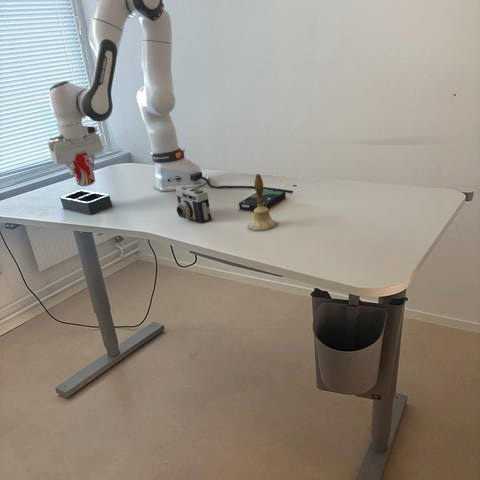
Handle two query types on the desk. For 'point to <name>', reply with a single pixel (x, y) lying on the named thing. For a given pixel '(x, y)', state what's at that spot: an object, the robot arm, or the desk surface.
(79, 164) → the soda can
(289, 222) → the desk surface
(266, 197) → the disk drive
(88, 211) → the open box
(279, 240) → the desk surface
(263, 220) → the hand bell
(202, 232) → the desk surface
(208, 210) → the camera
